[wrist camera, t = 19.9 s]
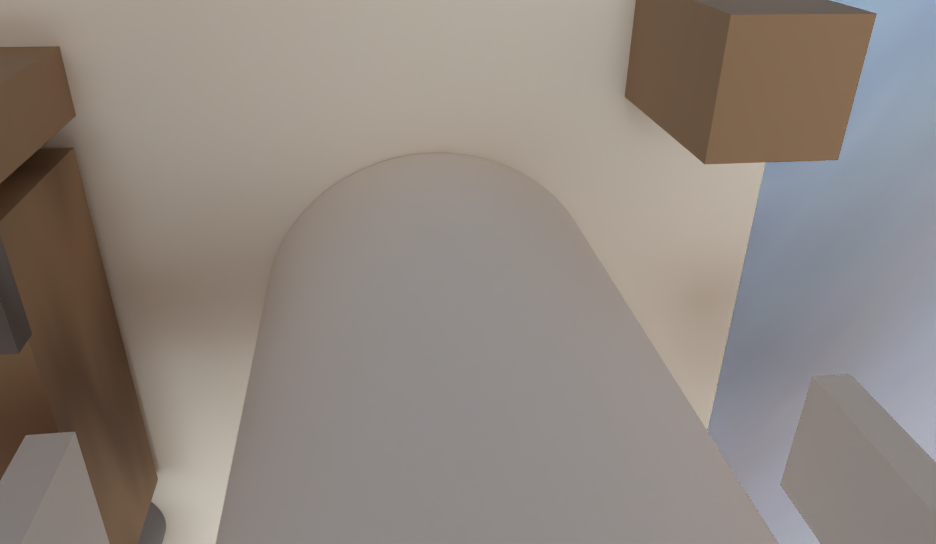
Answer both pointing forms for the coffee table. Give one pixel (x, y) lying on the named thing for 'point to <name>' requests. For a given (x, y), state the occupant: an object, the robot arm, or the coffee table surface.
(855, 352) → the coffee table surface
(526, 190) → the cup
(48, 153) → the brown rectangular block
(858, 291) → the coffee table surface
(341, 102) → the seat board
